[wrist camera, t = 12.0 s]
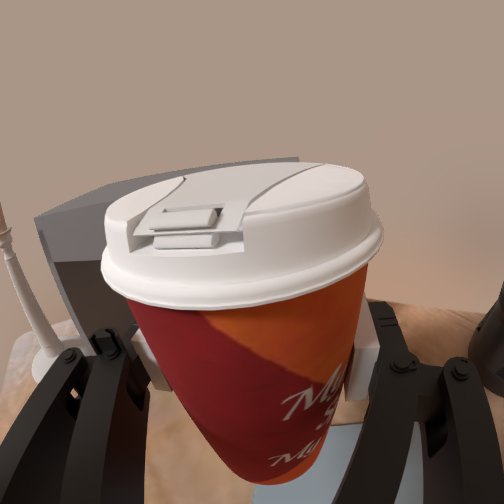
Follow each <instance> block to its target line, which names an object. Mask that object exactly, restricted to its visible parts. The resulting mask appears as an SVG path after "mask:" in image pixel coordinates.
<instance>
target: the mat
mask: <svg viewBox="0 0 504 504" xmlns="http://www.w3.org/2000/svg"><path fill="white" fill-rule="evenodd" d="M362 425H363V424H353V425H342V426H330V428H329V431H328V434H327V436H326V439H325V442H324V444H323V447H322V449H321V451H320V453H319V456H318V457H317V459H316V461H315V462H314V464H313V465H312V466H311V468H310V469H309V470H308V471H307V472H305V473H304V474H303V475H301V476H300V477H298V478H296V479H294V480H292V481H290V482H287V483H283V484H279V485H260V484H255V488H254V494H253V499H252V504H331V503H332V501H333V499H334V497H335V495H336V492H337V490H338V488H339V486H340V483H341V481H342V479H343V476H344V474H345V472H346V469H347V467H348V464H349V462H350V459H351V456H352V454H353V451H354V448H355V445H356V443H357V440H358V437H359V434H360V431H361V428H362ZM394 504H423V460H422V445H421V434H420V429H419V425H418V422H414V428H413V433H412V439H411V444H410V448H409V453H408V457H407V461H406V466H405V469H404V473H403V477H402V480H401V484H400V487H399V491H398V494H397V497H396V500H395V503H394Z"/></svg>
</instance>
